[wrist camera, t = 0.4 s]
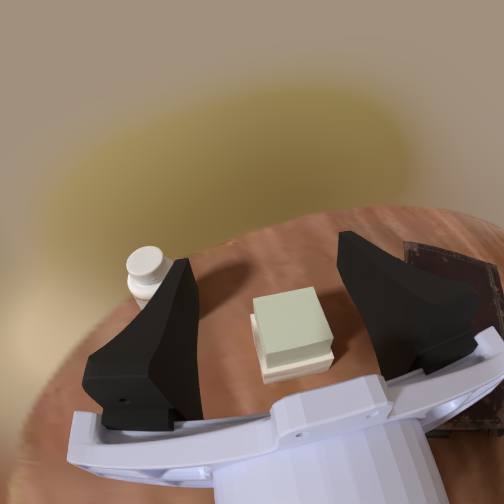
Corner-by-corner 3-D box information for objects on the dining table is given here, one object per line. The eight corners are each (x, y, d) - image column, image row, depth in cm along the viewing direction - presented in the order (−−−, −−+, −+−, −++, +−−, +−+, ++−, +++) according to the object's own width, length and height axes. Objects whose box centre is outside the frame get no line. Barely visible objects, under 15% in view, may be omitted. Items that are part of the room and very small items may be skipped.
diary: (486, 285, 34) (500, 264, 30) (498, 438, 17) (524, 426, 14) (389, 262, 39) (399, 236, 35) (370, 434, 22) (389, 424, 19)
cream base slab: (328, 370, 28) (334, 357, 26) (264, 385, 27) (263, 374, 25) (310, 318, 33) (313, 302, 30) (252, 330, 32) (250, 314, 30)
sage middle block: (327, 354, 26) (333, 338, 23) (267, 369, 25) (266, 354, 23) (309, 306, 30) (312, 286, 28) (254, 318, 30) (253, 298, 27)
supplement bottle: (164, 293, 36) (140, 235, 29) (200, 306, 35) (181, 246, 28) (142, 326, 33) (108, 271, 26) (178, 342, 31) (150, 288, 24)
